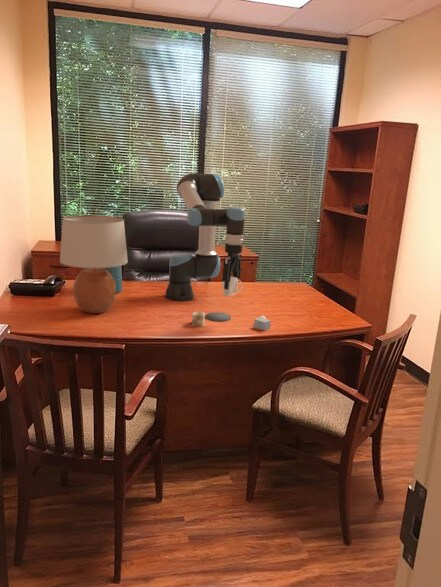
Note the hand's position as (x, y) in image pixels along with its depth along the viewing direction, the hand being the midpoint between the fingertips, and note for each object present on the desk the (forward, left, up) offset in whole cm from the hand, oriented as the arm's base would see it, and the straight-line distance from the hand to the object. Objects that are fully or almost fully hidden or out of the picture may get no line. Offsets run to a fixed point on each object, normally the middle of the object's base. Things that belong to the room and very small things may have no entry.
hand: (230, 293), depth 216 cm
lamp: (-60, -21, -14) cm, 65 cm away
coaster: (-8, +5, -14) cm, 17 cm away
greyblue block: (+15, +3, -14) cm, 21 cm away
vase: (-79, +11, -14) cm, 81 cm away
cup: (0, 0, -1) cm, 1 cm away
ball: (+13, +8, -14) cm, 21 cm away
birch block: (-11, -9, -14) cm, 20 cm away
